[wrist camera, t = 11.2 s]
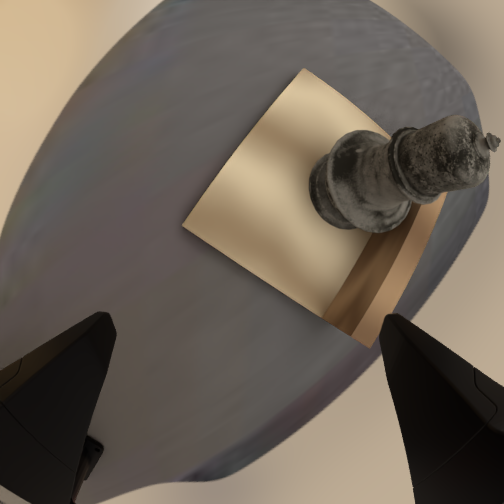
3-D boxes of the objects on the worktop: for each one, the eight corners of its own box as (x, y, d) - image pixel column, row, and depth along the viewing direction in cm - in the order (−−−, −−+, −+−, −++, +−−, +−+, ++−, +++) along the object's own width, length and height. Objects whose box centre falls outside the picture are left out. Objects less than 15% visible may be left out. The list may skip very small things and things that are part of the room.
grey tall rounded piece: (390, 220, 18) (541, 208, 7) (320, 246, 18) (483, 254, 6) (365, 141, 18) (496, 70, 6) (291, 156, 17) (414, 49, 5)
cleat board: (331, 324, 19) (369, 348, 14) (183, 226, 17) (174, 220, 12) (413, 172, 20) (457, 159, 15) (298, 75, 18) (324, 36, 13)
